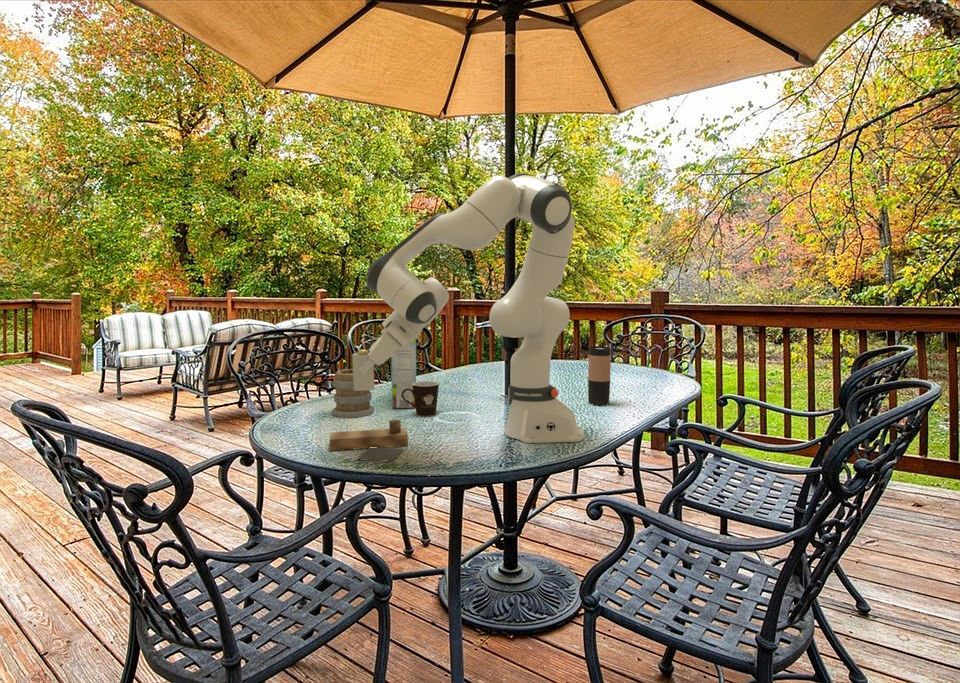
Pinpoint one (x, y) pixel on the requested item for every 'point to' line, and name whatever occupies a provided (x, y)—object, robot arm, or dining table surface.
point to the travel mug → (599, 375)
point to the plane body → (370, 437)
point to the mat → (381, 454)
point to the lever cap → (361, 379)
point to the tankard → (350, 397)
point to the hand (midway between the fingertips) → (361, 369)
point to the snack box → (404, 375)
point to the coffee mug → (424, 397)
